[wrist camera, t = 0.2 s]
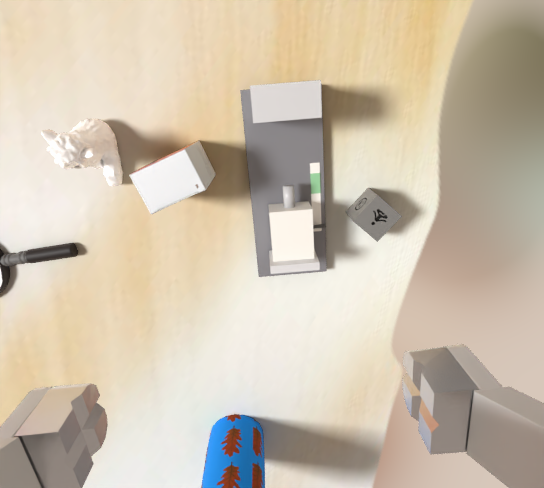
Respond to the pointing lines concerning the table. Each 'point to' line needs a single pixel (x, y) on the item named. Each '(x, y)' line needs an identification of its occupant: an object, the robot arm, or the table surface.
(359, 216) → the dice cube
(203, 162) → the small box
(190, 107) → the table surface
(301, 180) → the grey slide rail base
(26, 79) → the table surface
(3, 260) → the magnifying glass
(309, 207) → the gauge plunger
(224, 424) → the thermos
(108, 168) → the white creature statuette
